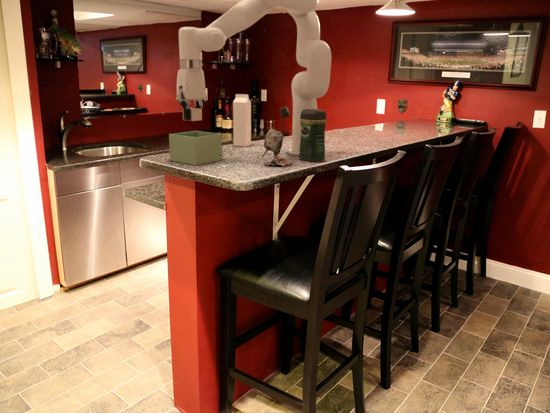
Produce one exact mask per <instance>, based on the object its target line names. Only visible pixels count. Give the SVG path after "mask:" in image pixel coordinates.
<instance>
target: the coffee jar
mask: <svg viewBox="0 0 550 413" xmlns="http://www.w3.org/2000/svg"><path fill="white" fill-rule="evenodd" d="M300 122H301V139H300V151H299V155H298V157H299V159H300V160H302V161H306V162H318V163H319V162H322V161H324V160H326V146H325V145H326V144H325V142H326V124H327V112H326V111H325V110H323V109H318V108H317V109H305V110H303V111H302V112H301V116H300Z"/></svg>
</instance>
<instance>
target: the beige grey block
mask: <svg viewBox="0 0 550 413" xmlns="http://www.w3.org/2000/svg"><path fill="white" fill-rule="evenodd" d="M189 109H191V120H187V121H188V122H189V121H190V122H196V121H197V122H198V121H203V108H202V109H199V108H196V107H189ZM182 121H185V120H184V116H183V115H182Z"/></svg>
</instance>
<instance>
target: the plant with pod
mask: <svg viewBox="0 0 550 413" xmlns="http://www.w3.org/2000/svg"><path fill="white" fill-rule="evenodd" d="M279 113H280V116H281V118H282V120H281V121H282V122H281V131H279V130H276V129H274V128H270V129H269V130H268V131H267V133H266V135H265V138H264V140H263V147H264V149H265V151H264V153H262V155H261V158H264V156H265V155H266V154H267V153H268V151H270V152H272V153H273V158H272V160H271V161H269V162H267V163H265V165H267V166H275V165H279V166H283V167H285V166H287V165H288V164H289V165H293V162H289V161H287V160H286V158H285V157H281V155H280V153H281V150H282V147H283V143H284V142H283V141H284V134H283V129H284V128H283V127H284V123H285V118H288V119H291V115H290V114H291V113H290V111H289V108H288V107H287V106H284V107H281V108H280V109H279Z"/></svg>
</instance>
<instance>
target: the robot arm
mask: <svg viewBox="0 0 550 413" xmlns="http://www.w3.org/2000/svg"><path fill="white" fill-rule="evenodd" d="M319 1H320V0H240V1H239V2H238V3H236V4H234V5H233V6H232V7H231V8H230V9H228V10H227V11H226V12H225V13H223V14H222V15H221V16H219V17H218V18H217V19H216V20H214V21H213V22H211V23H210V24H209V25H207V26H206V27H201V28H200V27H195V26H182V27H180V28H179V29H178V50H179V69H177V76H176V97H175V101H176V102H177V103H179V106H181V109H182V117H183V116H184V120H183V121H188V120H191V109H189V108H191V107H190V105H191V100H192V101H193V102H194V106H195V107H194V108H199V109H202V110H203V108H204V104H205V102H206V101H207V100H208V99H209V98H208V96H207V94H206V81H205V74H204V73H205V72H204V70H203V66H204V63H203V51H204V52H208V53H209V52H216V51H219V50H221V49H223V48H224V46H225V44H226V41H227V40H228V39H230V38H231V37H232V36H234V35H236V34H237V33H240V32H242V31H244V30H245V31H246V30H247V29H249V28H250V27H252V26H253V25H254V24H255V23H257V22H258V21H260V19H262V18H263V17H264V16H265V15H268V13H270V12H271V11H272V10H274V9H275V8H277V7H280V8H284V9H285V11H286V12H287V13H288V14H289V15H290V16H291V17H292V19H293V20H294V22H295V25H296V32H297V33H296V35H297V36H296V50H295V59H296V62H297V64H298V65H299V66H300V67H302V68H306V70H305V71H300V72H298V73H296V74H295V75H294V76H293V78H292V81H291V87H290V88H291V96H292V127H291V128H292V129H291V131H292V132H291V148H289V149H287V154H289V155H293V156H299V151H300V139H301V122H300V116H301V112H302V111H303V110H305V109H317V110H318V103H317V99H320V98H322V97H324V96H325V95H326V94H327V92H328V90H329V87H330V80H331V70H332V69H331V68H332V51H331V48H330V46H329V44H328V43H327V42H326V41H324V40H322V39H321V23H320V20H319V16H318V14H317V13H316V11H315V10H316V9H317V7H318V6H319Z"/></svg>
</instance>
